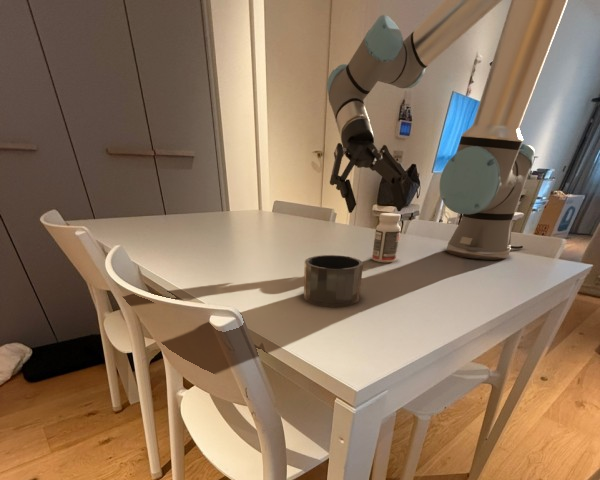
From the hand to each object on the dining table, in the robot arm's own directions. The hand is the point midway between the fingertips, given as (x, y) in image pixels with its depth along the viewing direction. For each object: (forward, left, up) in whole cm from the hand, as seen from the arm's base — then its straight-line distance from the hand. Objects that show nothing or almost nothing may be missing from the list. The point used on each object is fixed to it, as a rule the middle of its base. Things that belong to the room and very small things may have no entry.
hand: (377, 208), depth 80 cm
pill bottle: (-1, +6, -11) cm, 12 cm away
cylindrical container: (+19, +31, -11) cm, 37 cm away
